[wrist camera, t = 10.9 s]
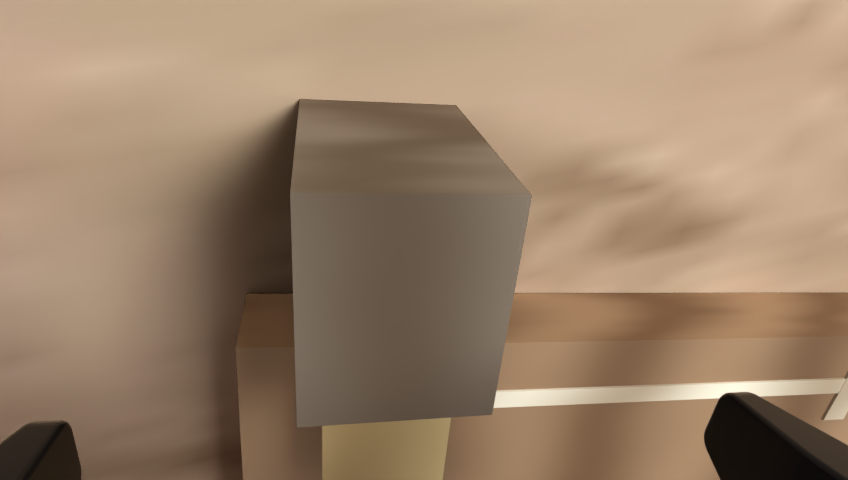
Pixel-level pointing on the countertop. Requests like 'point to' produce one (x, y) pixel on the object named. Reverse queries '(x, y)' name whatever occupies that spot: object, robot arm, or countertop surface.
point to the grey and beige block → (398, 280)
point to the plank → (585, 383)
